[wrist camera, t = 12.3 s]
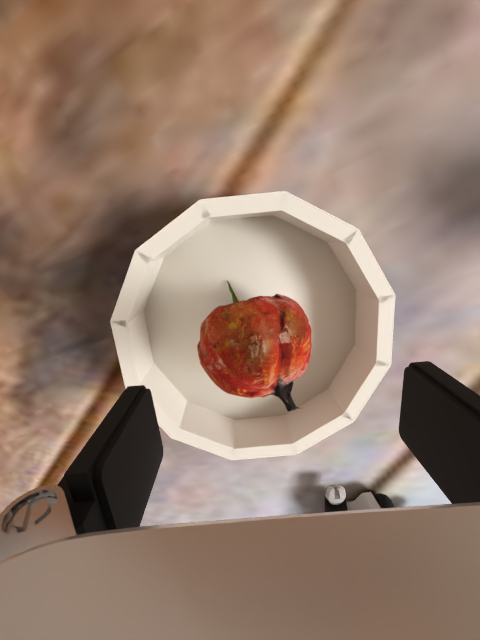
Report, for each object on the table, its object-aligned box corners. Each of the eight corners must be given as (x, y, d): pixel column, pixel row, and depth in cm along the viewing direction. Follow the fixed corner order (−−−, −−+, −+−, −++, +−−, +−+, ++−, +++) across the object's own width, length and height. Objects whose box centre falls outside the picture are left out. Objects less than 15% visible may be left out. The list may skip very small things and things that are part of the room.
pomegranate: (193, 315, 24) (230, 436, 20) (163, 268, 17) (210, 439, 13) (276, 285, 24) (328, 400, 20) (279, 228, 17) (358, 384, 13)
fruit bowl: (116, 216, 20) (84, 210, 16) (366, 192, 20) (402, 179, 16) (159, 429, 25) (143, 468, 21) (360, 410, 25) (385, 446, 21)
